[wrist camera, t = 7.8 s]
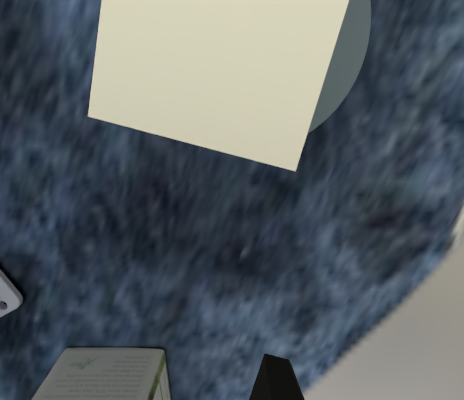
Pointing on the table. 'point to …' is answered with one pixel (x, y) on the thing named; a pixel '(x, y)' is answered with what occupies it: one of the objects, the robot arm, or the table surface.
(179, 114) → the cream block
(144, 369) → the syrup box
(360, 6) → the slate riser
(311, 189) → the table surface
